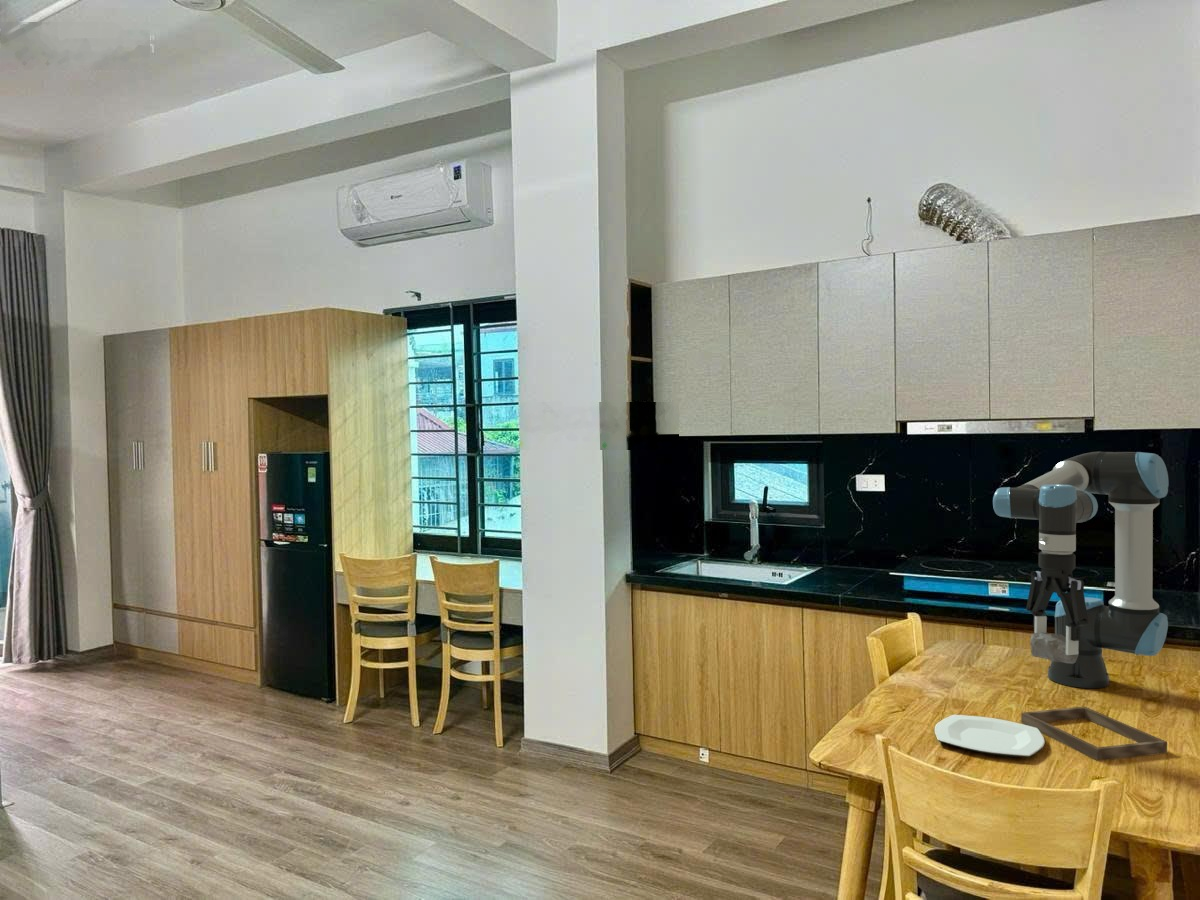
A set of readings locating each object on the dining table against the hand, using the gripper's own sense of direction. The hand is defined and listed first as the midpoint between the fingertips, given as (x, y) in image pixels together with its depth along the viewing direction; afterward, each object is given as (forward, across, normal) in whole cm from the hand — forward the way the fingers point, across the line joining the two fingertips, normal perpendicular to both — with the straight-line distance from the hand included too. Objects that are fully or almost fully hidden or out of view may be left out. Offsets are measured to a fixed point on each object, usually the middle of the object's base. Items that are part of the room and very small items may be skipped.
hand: (1055, 648), depth 199 cm
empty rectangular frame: (+21, +1, +9) cm, 23 cm away
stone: (+3, -1, 0) cm, 3 cm away
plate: (+22, -3, -15) cm, 27 cm away
